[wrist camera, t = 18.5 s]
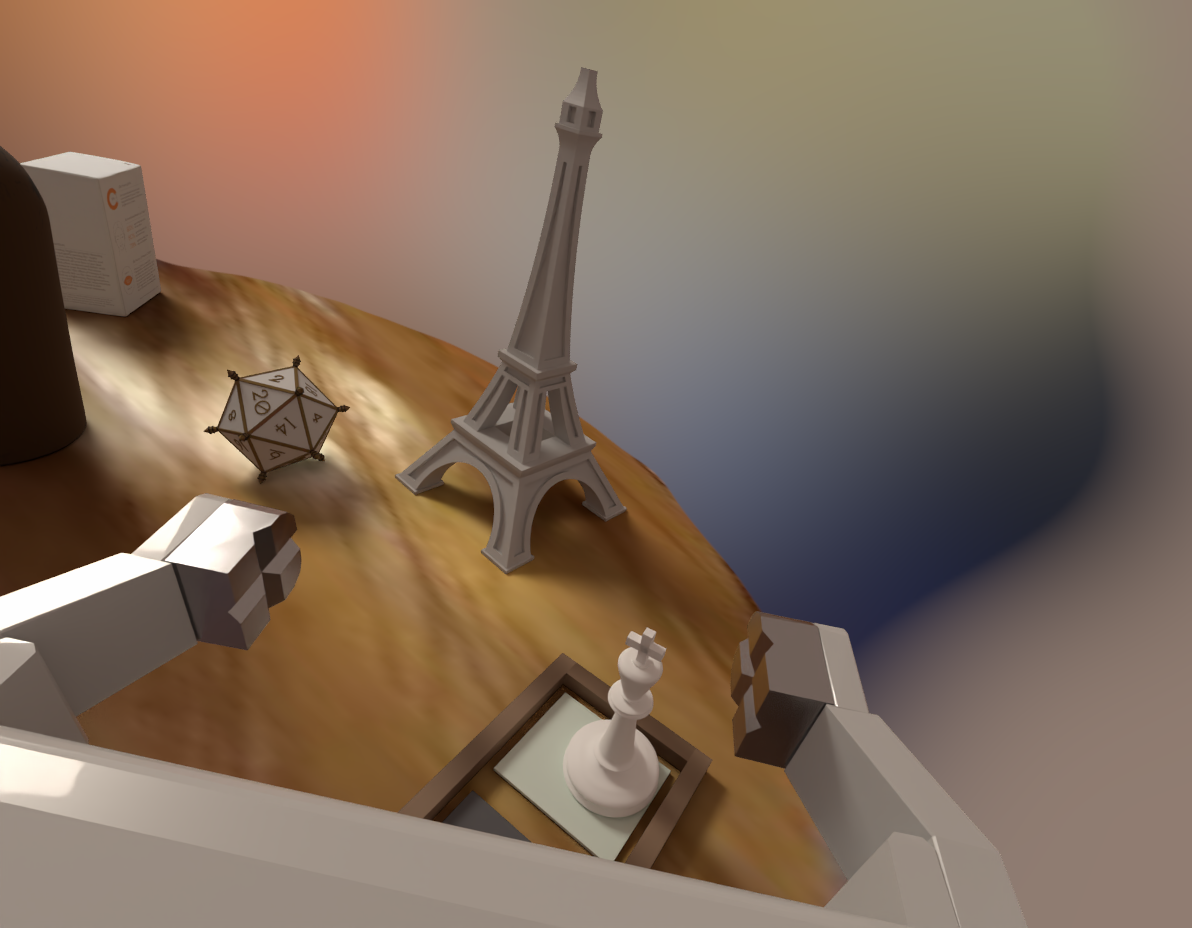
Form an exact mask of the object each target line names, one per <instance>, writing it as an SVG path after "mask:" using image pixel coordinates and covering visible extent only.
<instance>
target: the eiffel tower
mask: <svg viewBox="0 0 1192 928" xmlns="http://www.w3.org/2000/svg"><path fill="white" fill-rule="evenodd" d="M596 79H597V71H594V70H590V69H586V68H581V71H580V75H579V78H578V81H577V83H576V85H575V87H574V89H573V90H572V92H571V93H570V94H569V95H568V97H567V98H566V99H565V100H564V101H563V104H562V111H561V116H560V122H559V123H555V128H556V130H557V133H558V135H559V142H560V147H559V153H558V158H557V163H556V169H555V174H554V178H553V183H552V188H551V193H550V198H549V202H548V207H547V211H546V216H545V220H544V224H543V228H542V233H541V237H540V241H539V245H538V249H537V253H536V257H535V261H534V265H533V268H532V272H531V275H530V279H529V282H528V286H527V289H526V293H525V296H524V299H523V303H522V306H521V309H520V313H519V316H518V319H517V322H516V325H515V328H514V331H513V334H512V337H511V340H510V343H509V346H508V348H507V349H502V350H499V351H498V357H500V359H501V360H502V364H501V365H500V367H499V369H498V370H497V372H496V374H495V375H494V377H493V379H492V380H491V382H490V384H489V385H488V387H487V388H486V390H485V391H484V393H483V394H482V396H481V397H480V399H479V400H478V402H477V403H476V404H475V406H474V407H473V409H472V410H471V411H470V413H469V414H468V415H466V416H462V417H459V418H455V419H451V423H452V426H453V428H454V430H453V431H452V432H451V433H449V434H448V435H447V436H446V437H445V438H443V439H442V440H441V441H440V442H438V443H437V444H436V445H435V446H434V447H432V448H431V449H430V450H429V451H427V452H426V453H425V454H424V455H423V456H421V457H420V458H419V459H418V460H416V461H415V462H414V463H413V464H411V465H410V466H409V467H408V468H407V469H405V470H404V471H403V472H402V473H399V474H396V475H395V478H396V479H397V480H398V481H400V482H401V483H402V484H403V485H404V486H405V487H406V488H408V489H409V490H410V491H411V492H412V493H413V494H414V495H416V494H418V493H421V492H424V491H427V490H430V489H432V488H435V487H438V486H441V485H443V484H444V482H443V481H442V480H441V478H442V476H443V475H444V473H445V472H446V470H447V469H448V468H449V467H451V466H452V465H453V464H455V463H456V462H464V463H468V464H470V465H472V466H474V467H476V468H477V469H478V470H480V472H481V473H482V474H483V475H484V476H485V478H486V479H487V481H488V483H489V485H490V488H491V491H492V495H493V501H494V521H493V528H492V532H491V536H490V539H489V542H488V544H487V547H486V548H484V549H482V550H481V553H482V554H483V555H484V556H485V557H486V558H488V559H489V560H490V561H491V562H492V563H493V564H495V565H496V566H497V567H498V568H499V569H500V570H501V571H503V572H504V573H505V574H507V573H509V572H511V571H513V570H515V569H517V568H519V567H520V566H522V565H524V564H526V563H528V562H530V561H532V560H534V556H533V555H532V554H531V552H530V535H531V527H532V522H533V518H534V514H535V511H536V509H537V507H538V504H539V502H540V500H541V499H542V497H543V496H544V494H545V493H546V492H547V491H548V490H549V488H551V487H552V486H553V485H554V484H556V483H557V482H559V481H562V480H565V479H576V480H578V481H579V483H580V484H581V486H582V488H583V490H584V493H585V497H586V501H584V502H582V505H583V506H585V507H586V508H588V509H589V510H590V511H592V512H593V513H594V514H596V515H597V516H599V517H600V518H601V519H603V520H604V521H605V522H606V521H608V520H610V519H611V518H613V517H615V516H617V515H619V514H621V513H623V512H625V511H626V509H627V508H626V507H624V506H623V505H622V504H621V502H620V500H619V499H618V497H617V495H616V493H615V492H614V490H613V488H612V487H611V485H610V483H609V482H608V480H607V478H606V477H605V475H604V473H603V471H602V470H601V468H600V466H599V465H598V463H597V461H596V460H595V458H594V456H593V454H592V453H591V450H592V449H593V448H594V447H595V446H596V442H594V441H593V440H591V439H590V438H588V437H587V436H585V435H584V434H583V431H582V427H581V424H580V420H579V416H578V412H577V408H576V403H575V399H574V395H573V389H572V383H571V377H570V373H571V372H573V371H575V370H576V368H577V364H576V363H574V362H573V361H571V360H570V331H571V312H572V296H573V283H574V273H575V263H576V252H577V244H578V235H579V227H580V219H581V212H582V204H583V198H584V191H585V184H586V178H587V172H588V165H589V159H590V154H591V151H592V149H593V147H594V145H595V144H596V143H597V142H598V141H599V140H600V139H601V138H602V134H600V133H599V128H600V123H601V118H602V111H603V110H602V108H601V106H600V103H599V99H598V95H597V88H596ZM517 386H518V388H517ZM516 388H517V392H516V396H515V400H514V403H510V404H509V402H510V400H511V398H512V396H513V394H514V392H515V390H516ZM546 391H548V396H549V405H550V412H551V413H550V412H548V411H547V410H545V402H546Z"/></svg>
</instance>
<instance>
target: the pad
mask: <svg viewBox="0 0 1192 928" xmlns="http://www.w3.org/2000/svg"><path fill="white" fill-rule="evenodd" d="M598 720H602V719H601V718H599V717H598V716H597V715H595V714H594V713H592V712H591V711H590V710H588V709H587V708H586V707H584V706H583V705H582V704H580V703H579V702H578V701H576V700H575V699H574V698H572V697H571V696H570V695H568V694H567V693H566V692H565V693H564V694H563V695H562V697H561V698H560V699H559V700H558V701H557V702H556V703H555V704H554V705H553V706H552V707H551V708H550V709H549V710H548V711H547V712H546V713H545V714H544V716H543V717H542V718H541V719H540V720H539V721H538V722H537V723H536V724H535V725H534V726H533V727H532V728H531V729H530V730H529V731H528V732H527V733H526V735H525V736H524V737H523V738H522V739H521V740H520V741H519V742H518V743H517V744H516V745H515V746H514V747H513V748H512V749H511V750H510V751H509V752H508V754H507V755H506V756H505V757H504V758H503V759H502V760H501V761H500V762H499V763H498V764H497V765H496V766H495V767H494V771H495V772H496V773H498V774H499V775H500V776H501V777H502V778H503V779H505V780H506V781H507V782H508V783H509V784H510V785H512V786H513V787H514V788H515V789H516V790H517V791H519V792H520V793H521V794H522V795H523V796H524V797H526V798H527V799H528V800H529V801H530V802H532V803H533V804H534V805H535V806H536V807H537V808H539V809H540V810H541V811H542V812H543V813H544V814H546V815H547V816H548V817H549V818H550V819H551V820H553V821H554V822H555V823H556V824H557V825H558V826H560V827H561V828H562V829H563V830H564V831H565V832H567V833H568V834H569V835H570V836H571V837H572V838H574V839H575V840H576V841H577V842H578V843H580V844H581V845H582V846H583V847H584V848H585V849H587V850H588V851H589V852H590V853H591V854H592V855H594V856H595V857H598V858H603V859H607V860H612V861H614V860H615V859H616V857H617V855H618V854H619V852H620V851H621V849H622V848H623V846H624V844H625V843H626V841H627V840H628V838H629V837H630V835H631V833H632V832H633V830H634V829H635V827H636V826H637V824H638V822H639V821H640V819H641V818H642V816H643V815H644V813H645V811H646V810H647V808H648V807H649V805H650V804H651V802H652V800H653V799H654V797H655V796H656V794H657V793H658V791H659V789H660V788H661V786H662V785H663V783H664V782H665V780H666V778H667V777H668V775H669V774H670V772H671V771H670V770H669V769H668V768H666V767H665V766H664V765H662V764H661V763H660V762H659V777H658V786H657V789H656V792H655V794H654V796H653V798H652V800H651V801H650V802H649V803H648V805H647V806H646V807H644V808H643V809H642V810H640V811H639V812H637V813H635V814H633V815H630V816H626V817H606V816H602V815H599V814H596V813H594V812H592V811H590V810H589V809H587V808H585V807H584V806H583V805H582V804H580V803H579V802H578V801H577V800H576V798H575V797H574V796H573V795H572V793H571V792H570V790H569V788H568V786H567V784H566V781H565V778H564V773H563V759H564V754H565V751H566V749H567V747H568V745H569V743H570V741H571V739H572V737H573V736H574V735H575V733H576V732H577V731H578V730H579V729H581V728H582V727H583V726H585V725H587V724H589V723H591V722H594V721H598Z"/></svg>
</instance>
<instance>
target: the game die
mask: <svg viewBox="0 0 1192 928" xmlns="http://www.w3.org/2000/svg"><path fill="white" fill-rule="evenodd" d="M300 362H301V361H300V358H299V355H298V356H297V357H296V358H295V359H293V362H292V363H293V366H291V367H287V368H282V369H277V370H273V371H268V372H263V373H259V374H254V375H249V376H245V377H240V378H239V377H238V374H236V373H235V371H230V370H227V371H228V377H230V378H231V379H233V380H235V383H234V385H233V388H232V391H231V393H230V396H229V398H228V401H227V403H226V406H225V409H224V411H223V414H222V416H221V419H220V421H219V424H218V426H217V427H213V426H212V427H209V426H208V428H207V429H206V430H205V431H203V432H207V433H209V434H212V433H215V432H217V431H219V432H220V433H221V434H222V435H223V436H224V437H225V438H226V439H227V440H228V441H229V442H230V443H232V444H233V445H234V446H235V447H236V448H237V449H238V450H239V451H240V452H241V453H242V454H243V455H244V456H245V457H246V458H247V459H249V460H250V461H251V462H252V463H253V464H254V465H255V466H256V467H257V468H258V469H259V470H260V471H261V473H260V475H259V478H258V479H259V483H260V484H261V483H262V482H263V481H265V480H266V477H267V476H266V473H267V472H270V471H273V470H276V469H278V468H281V467H284V466H287V465H290V464H293V463H296V462H299V461H302V460H305V459H308V458H311V457H313V459H318V461H325V459H324V455H322V453H321V454H320V453H319V452H320V450H321V448H322V446H323V443H324V441H325V439H326V437H327V435H328V433H329V431H330V428H331V426H332V424H333V422H334V420H335V418H336V416H337V413H338V412H346V411H347V410H348V409H349V408H350V407H348V406H345V405H344V406H340V407H336V406H335V405H334V404H333V403H332V402H331V401H330V400H329V399H328V398H327V397H326V396H325V395H324V394H323V393H322V392H321V391H320V390H319V389H318V388H317V387H316V386H315V385H314V384H313V383H312V382H311V381H310V380H309V379H308V378H307V377H306V376H305V375H304V374H303V373H302V372H301V371H300V370H299V369H298V366H299V365H300Z"/></svg>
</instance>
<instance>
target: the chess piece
mask: <svg viewBox="0 0 1192 928" xmlns="http://www.w3.org/2000/svg"><path fill="white" fill-rule="evenodd" d="M655 634H656V632H655V631H653V630H651V629H649V628H646V630H645V631H644V633H643V635H642V636H640V635H638V634H637V633H635V632H633V631H631V632H630V634H629V635H628V637H627V640H626V645H628V646H630V648H628V649H626V650H624V651H623V652H622V653H621V654H620V656H619V659H618V669H619V674H620V677H621V680H618V681H617V682H615V683H614V684H613V686H612V687H611V688H610V690H609V692H608V702H609V704H610V706H611V708H612V709H613V711H614V712H615V713H614V715H613V718H612V720H598V721H594V722H591V723H589V724H587V725H585V726H583V727H582V728H581V729H579V730H578V731H577V732H576V733H575V735H574V736H573V737H572V739H571V741H570V743H569V745H568V747H567V749H566V751H565V754H564V759H563V773H564V778H565V781H566V784H567V786H568V788H569V790H570V792H571V793H572V795H573V796H574V797H575V798H576V800H577V801H578V802H579V803H580V804H582V805H583V806H584V807H585V808H587V809H589V810H590V811H592V812H594V813H596V814H599V815H602V816H606V817H626V816H630V815H633V814H635V813H637V812H639V811H640V810H642V809H643V808H644V807H646V806H647V805H648V803H649V802H650V801H651V800H652V798H653V796H654V794H655V792H656V789H657V786H658V777H659V762H658V758H657V755H656V752H655V750H654V748H653V746H652V744H651V743H650V741H649V740H648V739H647V738H646V737H645V736H644V735H643V734H642V733H641V732H640V731H639V730H637V729H636V722H637V720H639V719H643V718H645V717H646V716H648V715H649V714H650V712H651V711H652V708H653V696H652V693H651V691H650V690H649V689H650V688H651V687H652V686H653V685H654V684H655V683H656V682H657V681H658V680H659V679H660V677H661V675H662V672H663V666H662V662H661V660H662V659H663V657H664V655H665V652H666V648H664V647H662V646H660V645H658V644H656V643H654V642H653V641H654V638H655Z"/></svg>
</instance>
